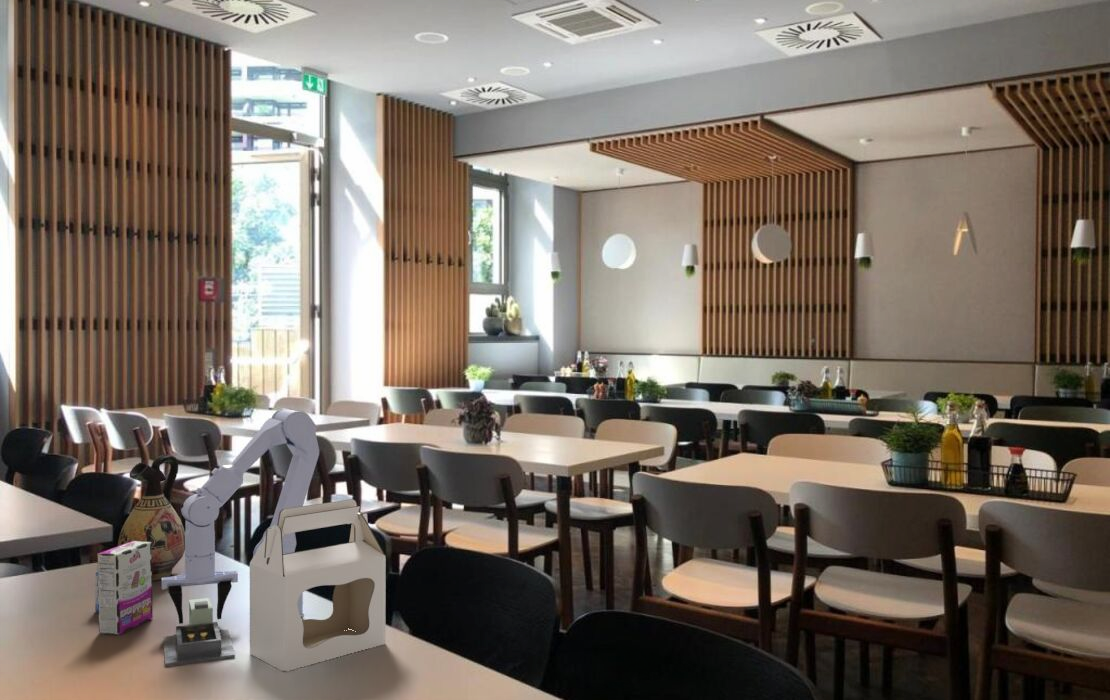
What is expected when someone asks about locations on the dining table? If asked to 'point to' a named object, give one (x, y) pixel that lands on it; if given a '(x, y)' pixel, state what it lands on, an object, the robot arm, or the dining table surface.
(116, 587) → the candy bar box
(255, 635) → the gable box
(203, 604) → the pale green block
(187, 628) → the chassis
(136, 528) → the ceramic jug
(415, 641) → the dining table surface
